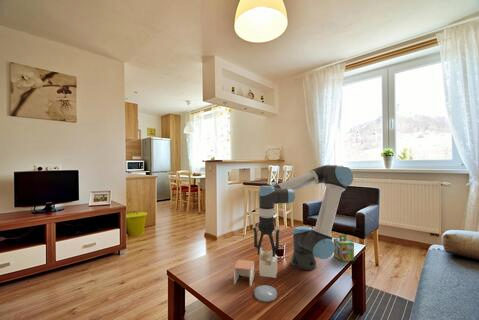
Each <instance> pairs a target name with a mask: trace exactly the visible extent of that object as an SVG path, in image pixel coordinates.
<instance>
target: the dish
mask: <svg viewBox="0 0 479 320" xmlns="http://www.w3.org/2000/svg"><path fill="white" fill-rule="evenodd" d="M253 291H254V292H253V293H254V297H255V298H256V299H257V300H258V301H260V302H263V303H265V302H266V303H269V302H272V301H275V300H276V299H277V297H278V292H277V289H276V288H275V287H273V286H271V285H268V284H267V285H266V284H265V285H258V286H257V287H256V288H255V289H254V290H253Z"/></svg>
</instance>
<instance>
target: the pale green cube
mask: <svg viewBox="0 0 479 320" xmlns="http://www.w3.org/2000/svg"><path fill="white" fill-rule="evenodd" d="M258 261H259V262H258V263H259V264H258V265H259V266H258V267H259V268H258V269H259V270H258V271H259V277H266V278H275V279H277V273H278V255H277V254H275V257H273V263H272V264H271V266H270V265H263V264H261V262H260V259H258Z"/></svg>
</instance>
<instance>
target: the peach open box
mask: <svg viewBox="0 0 479 320" xmlns="http://www.w3.org/2000/svg"><path fill="white" fill-rule="evenodd" d="M239 275H240V276H241V277H247V278H249V287H251V286H252V285H253V281H254V279H255V260H245V259H238V260H237V261H236V263H235V265H234V267H233V282H234V283H233V284H234V285H236V283H237V282H238V280H239V278H240V276H239Z"/></svg>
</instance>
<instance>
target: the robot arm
mask: <svg viewBox="0 0 479 320" xmlns="http://www.w3.org/2000/svg"><path fill="white" fill-rule="evenodd" d="M353 181H354V174H353V172H352V170H351V168H350V167H349V166H347V165H343V164H342V165H341V164H331V165H330V164H325V165H321V166H318V167H316V168H312V169H310V170H308V171H307V172H306V173H304V174H301V175H299V176H296V177H293V178H290V179H288V180H285V181H281V182H279V183H277V184H276V183H275V184H273V185H261V186H260V187H259V189H258V192H259V193H258V196H259V197H258V201H259V203H258V215H259V217H258V226H254V227H253V234H254V236H253V239H254V240H253V246H254V248H256V249H257V255H258V256H259V260H260V262H261V252H262V250H263V247H262V244H263V240H264V236H265V235H266V236H268V238H269V241H270V245H271V249H270V251H271V264H272V263H273V257H275V255H276V251H278V250H279V247H280V234H279V233H280V231H281V230H280V228H276V227H275V217H274V216H275V205H278V204H279V205H280V204H291V203H294V202H295V199H296V195H295V194H296V193H295V191H298V190H301V189H304V188H306V187H308V186H312V185H313V186H315V185H318V184H323V185H324V186H325V191H324V193H323V194H324V195H323V198H322V200H321V201H322V202H321V205H320V209H319V212H318V216H317V218H316V219H317V220H316V223H315V227H311V226H303V225H302V226H296V227H294V228H293V230H292V231H293V232H292V241H293V252H292V256H291V258H290V264H291V266H292V267H294V268H295V269H297V270H301V271H312V270H315V269H316V268H317V260H316V258H318V259H320V260H328V259H329V258H331V257H332V256H333V255H334V250H335V245H334V240H333V239H334V238H333V237H334V236H333V234H332V230H333V225H334V222H335V219H336V214H337V210H338V207H339V202H340V199H341V195H342V193H343V192H344V191H346V189H347V187H348V186H350V185H351V184H352V183H353ZM259 231H260V236H259V241H258V233H259ZM273 232H274V233H275V240H274V236H273ZM274 241H275V242H274Z"/></svg>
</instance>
